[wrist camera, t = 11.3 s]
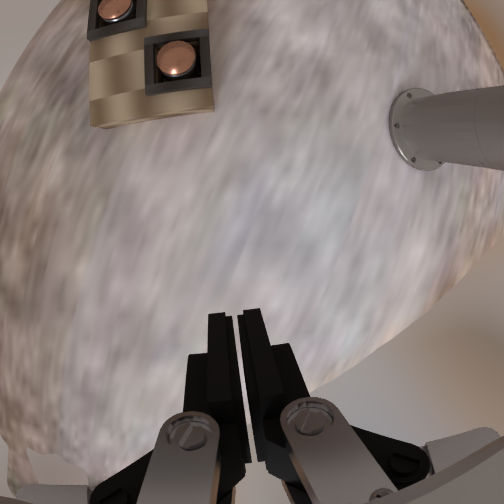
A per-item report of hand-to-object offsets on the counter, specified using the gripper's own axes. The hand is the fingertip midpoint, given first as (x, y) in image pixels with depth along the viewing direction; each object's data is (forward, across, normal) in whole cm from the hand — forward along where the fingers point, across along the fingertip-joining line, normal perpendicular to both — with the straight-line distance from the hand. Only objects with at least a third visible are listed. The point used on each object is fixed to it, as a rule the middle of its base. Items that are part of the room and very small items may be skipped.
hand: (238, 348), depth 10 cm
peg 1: (+29, +10, -26) cm, 41 cm away
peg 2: (+29, +4, -18) cm, 34 cm away
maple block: (+29, +7, -22) cm, 37 cm away
